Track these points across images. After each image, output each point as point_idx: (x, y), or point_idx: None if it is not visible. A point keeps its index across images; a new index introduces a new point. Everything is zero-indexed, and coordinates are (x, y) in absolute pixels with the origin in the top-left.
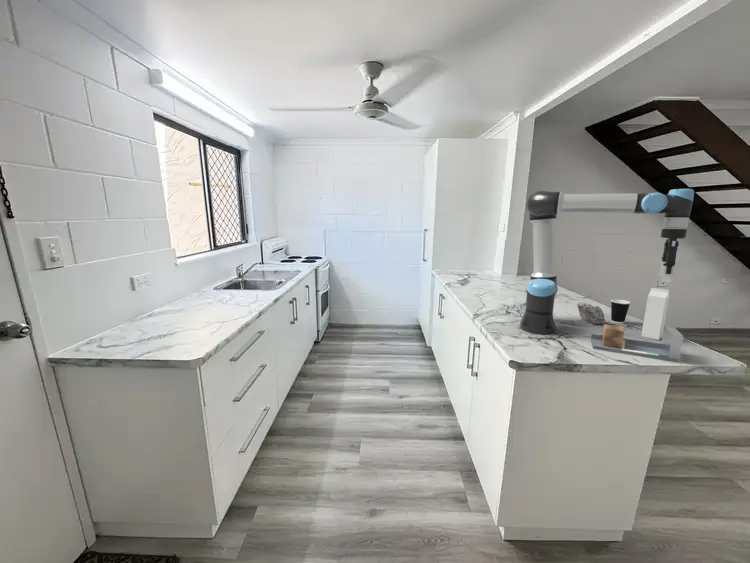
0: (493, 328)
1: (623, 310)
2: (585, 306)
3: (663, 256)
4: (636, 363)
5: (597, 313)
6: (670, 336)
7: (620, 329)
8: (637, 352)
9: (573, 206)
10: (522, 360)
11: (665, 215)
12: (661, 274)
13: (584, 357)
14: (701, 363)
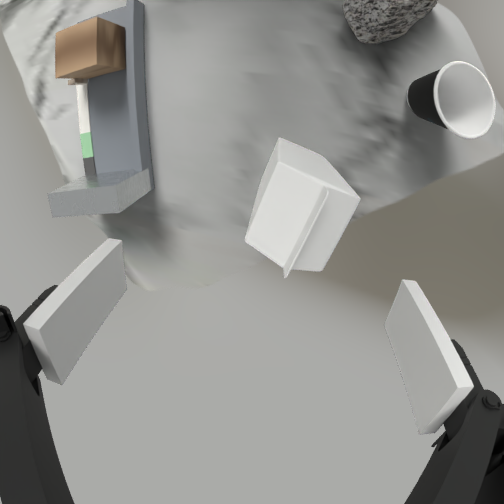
0: None
1: (425, 104)
2: None
3: (472, 455)
4: (42, 115)
5: (359, 3)
6: (62, 189)
7: (65, 66)
8: (78, 113)
9: None
10: None
11: None
12: (403, 303)
13: (29, 29)
14: (118, 237)
